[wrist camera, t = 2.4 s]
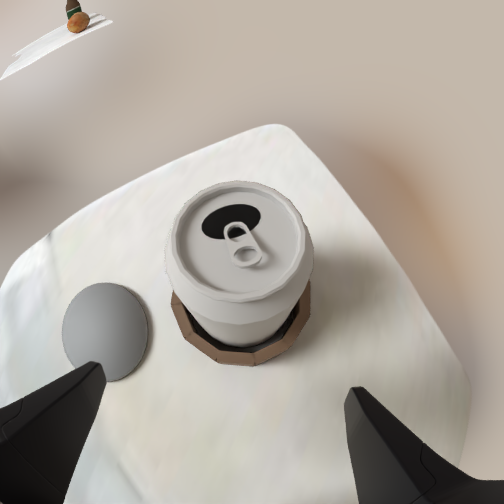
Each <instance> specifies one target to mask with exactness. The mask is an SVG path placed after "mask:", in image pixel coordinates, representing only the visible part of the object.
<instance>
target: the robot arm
mask: <svg viewBox="0 0 504 504" xmlns="http://www.w3.org/2000/svg"><path fill="white" fill-rule="evenodd" d="M106 382H107V380H106V376H105V373H104V370H103V367H102V365H101V363H99V362H95V361H89V362H87V363H85V364H84V365H82V366H80V367H78V368H76V369H75V370H73V371H71V372H69V373H67V374H66V375H64V376H62V377H60V378H58V379H56V380H55V381H53V382H51V383H49V384H47V385H45V386H44V387H42V388H40V389H38V390H36V391H34V392H32V393H31V394H29V395H27V396H25V397H24V398H21V399H19V400H17V401H15V402H13V403H11V404H9V405H7V406H5V407H3V408H0V504H63V503H64V500H65V496H66V493H67V490H68V487H69V484H70V481H71V479H72V476H73V473H74V470H75V467H76V465H77V462H78V459H79V457H80V454H81V452H82V449H83V447H84V444H85V442H86V439H87V437H88V434H89V432H90V429H91V427H92V425H93V422H94V420H95V417H96V415H97V412H98V409H99V405H100V402H101V399H102V395H103V392H104V389H105V386H106ZM344 411H345V422H346V433H347V443H348V448H349V453H350V458H351V463H352V468H353V473H354V478H355V484H356V489H357V495H358V500H359V504H504V480H478V479H475V478H473V477H471V476H469V475H467V474H466V473H464V472H462V471H461V470H459V469H458V468H457V467H455V466H454V465H452V464H451V463H449V462H448V461H446V460H445V459H443V458H442V457H441V456H439V455H438V454H437V453H436V452H434V451H433V450H432V449H431V448H430V447H429V446H427V445H426V444H425V443H423V441H422V440H421V439H419V438H418V437H417V436H416V435H415V434H414V433H413V432H412V431H411V430H409V429H408V428H407V427H406V426H405V425H404V424H403V423H402V422H401V421H399V420H398V419H397V418H396V417H395V416H394V415H393V414H392V413H391V412H390V411H388V410H387V409H386V408H385V407H384V406H383V405H382V404H381V403H380V402H379V401H378V400H377V399H375V398H374V397H373V396H372V395H371V394H370V393H369V392H368V391H367V390H366V389H365V388H363V387H361V386H359V387H352V388H351V389H350V390H349V393H348V395H347V398H346V400H345V403H344Z"/></svg>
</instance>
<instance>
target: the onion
mask: <svg viewBox="0 0 504 504" xmlns="http://www.w3.org/2000/svg"><path fill="white" fill-rule="evenodd" d="M89 21H90V18H89V16H88V15H87V14H86V13H84V12H77V13H75V14H74V15H73V16H72V17H71V18H70V19H69V21H68V24H67V28H68V29H69V31H70V32H73V33H78V32H81V31H83V30H84V29H85V28H86V27H87V26H88V24H89Z"/></svg>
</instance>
